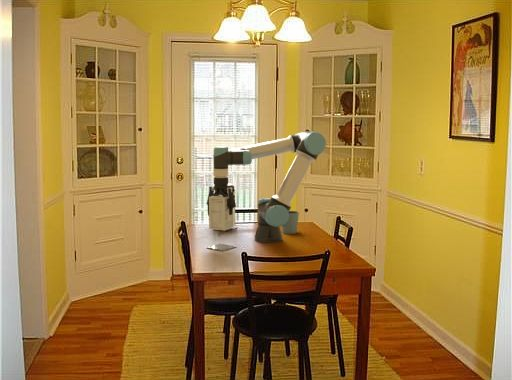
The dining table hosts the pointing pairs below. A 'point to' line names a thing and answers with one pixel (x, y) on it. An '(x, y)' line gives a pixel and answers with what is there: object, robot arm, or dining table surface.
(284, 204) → the robot arm
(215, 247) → the trivet
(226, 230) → the coffee press
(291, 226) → the drinking glass
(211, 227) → the supplement box
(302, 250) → the dining table surface
